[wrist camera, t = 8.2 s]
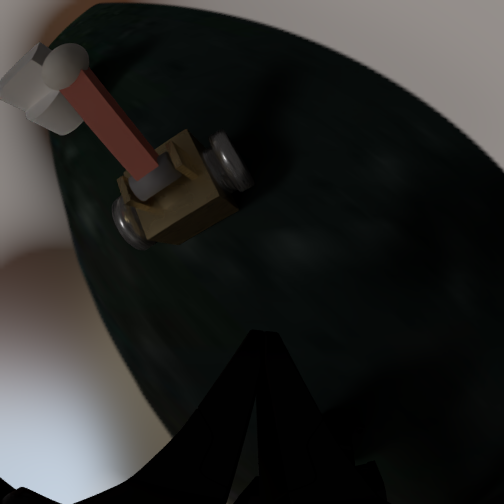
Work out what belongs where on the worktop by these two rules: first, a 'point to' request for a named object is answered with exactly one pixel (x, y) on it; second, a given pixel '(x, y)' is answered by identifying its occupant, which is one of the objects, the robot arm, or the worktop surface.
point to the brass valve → (184, 193)
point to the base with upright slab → (38, 94)
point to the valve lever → (108, 120)
